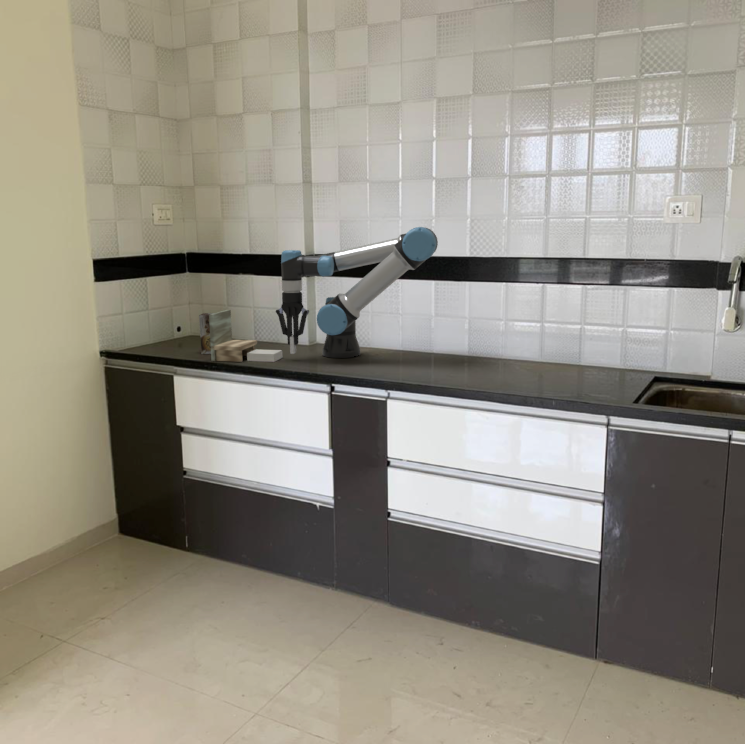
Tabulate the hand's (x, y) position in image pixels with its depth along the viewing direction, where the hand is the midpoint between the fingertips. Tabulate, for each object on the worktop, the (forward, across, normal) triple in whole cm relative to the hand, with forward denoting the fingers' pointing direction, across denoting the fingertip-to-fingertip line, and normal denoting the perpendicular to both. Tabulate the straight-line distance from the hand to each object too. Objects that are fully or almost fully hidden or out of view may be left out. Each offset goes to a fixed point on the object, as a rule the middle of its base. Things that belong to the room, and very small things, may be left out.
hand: (293, 353), depth 284 cm
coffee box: (+4, +38, -10) cm, 40 cm away
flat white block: (+3, +12, 0) cm, 12 cm away
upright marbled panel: (+3, +24, 0) cm, 24 cm away
